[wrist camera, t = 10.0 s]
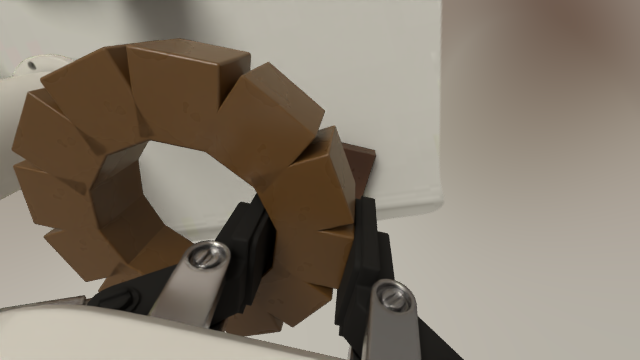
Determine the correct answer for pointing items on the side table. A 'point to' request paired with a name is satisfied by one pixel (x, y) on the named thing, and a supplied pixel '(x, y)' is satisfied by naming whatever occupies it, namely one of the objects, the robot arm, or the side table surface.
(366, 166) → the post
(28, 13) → the side table surface
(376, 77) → the side table surface
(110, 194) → the ring
